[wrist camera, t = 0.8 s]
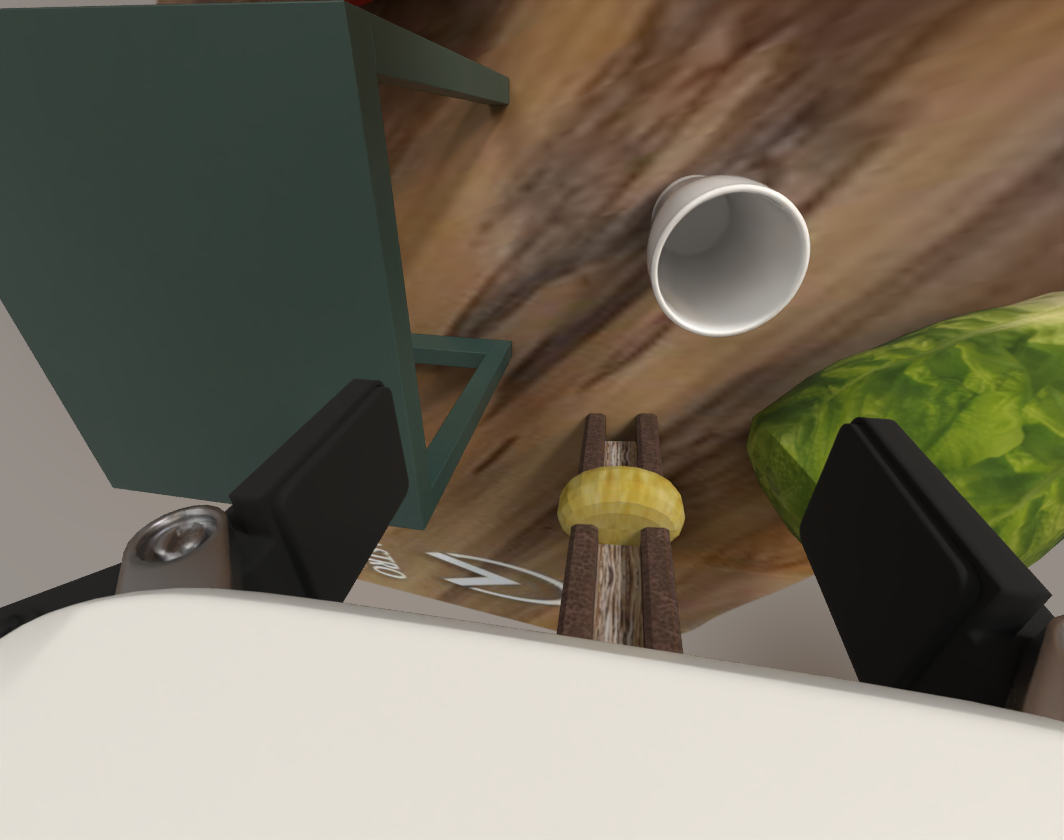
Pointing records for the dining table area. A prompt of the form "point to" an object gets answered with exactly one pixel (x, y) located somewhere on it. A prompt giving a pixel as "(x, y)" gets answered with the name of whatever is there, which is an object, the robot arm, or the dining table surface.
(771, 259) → the white paper cup
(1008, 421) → the lettuce
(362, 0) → the pomegranate
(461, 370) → the dining table surface
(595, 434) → the book
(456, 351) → the bench
